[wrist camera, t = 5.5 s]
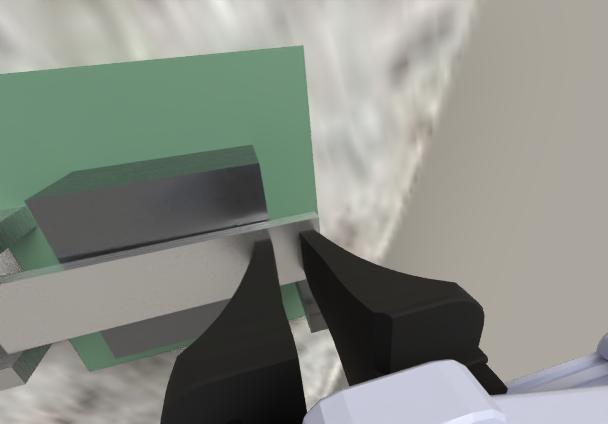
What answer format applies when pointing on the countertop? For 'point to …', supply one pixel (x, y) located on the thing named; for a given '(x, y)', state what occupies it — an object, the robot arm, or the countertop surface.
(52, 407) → the countertop surface
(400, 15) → the countertop surface
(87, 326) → the retention strap
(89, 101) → the board
